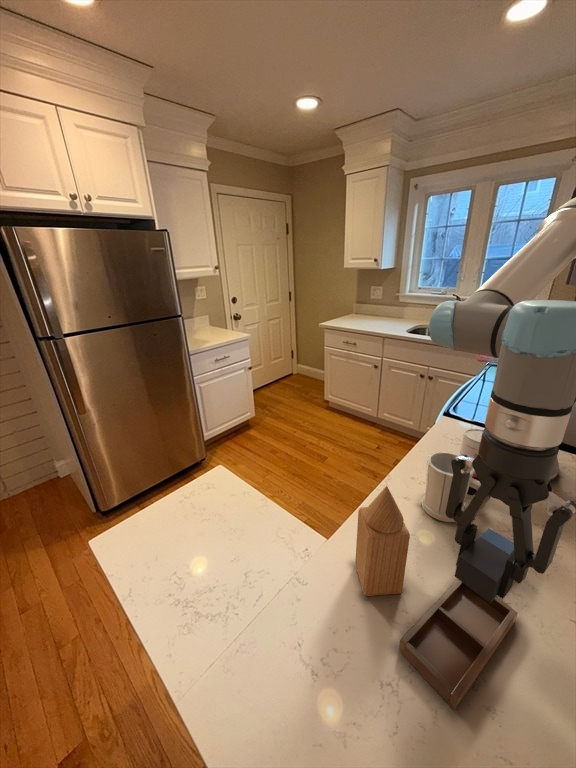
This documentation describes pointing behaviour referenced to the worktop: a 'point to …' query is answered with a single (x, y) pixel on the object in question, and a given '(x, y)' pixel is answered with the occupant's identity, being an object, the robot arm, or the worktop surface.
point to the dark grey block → (482, 568)
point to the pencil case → (486, 359)
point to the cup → (442, 485)
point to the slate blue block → (498, 541)
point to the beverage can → (471, 449)
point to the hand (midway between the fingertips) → (482, 575)
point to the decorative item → (381, 546)
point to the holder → (457, 639)
